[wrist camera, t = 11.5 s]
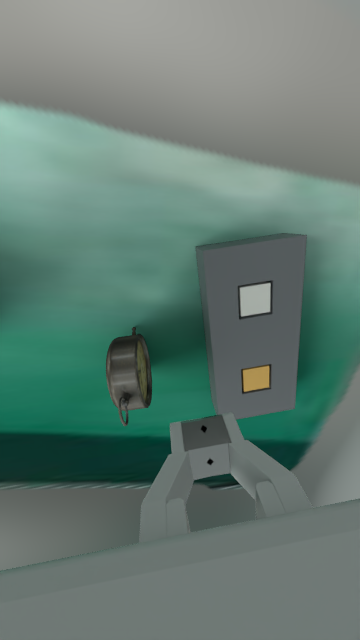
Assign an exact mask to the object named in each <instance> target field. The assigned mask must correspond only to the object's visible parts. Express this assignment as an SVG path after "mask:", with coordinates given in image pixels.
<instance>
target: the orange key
mask: <svg viewBox="0 0 360 640" xmlns="http://www.w3.org/2000/svg"><path fill="white" fill-rule="evenodd" d="M241 379H242V389H243V391H244V392H245V391H251V390H256V389H262V388H268V387H269V365H262V366H256V367H250V368H245V369H241Z"/></svg>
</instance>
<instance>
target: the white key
mask: <svg viewBox="0 0 360 640" xmlns="http://www.w3.org/2000/svg"><path fill="white" fill-rule="evenodd" d="M270 286H271V283H270V282H268V281H264V282H258V283H252V284H246V285H240V286H238V308H239V315H240V316H241V317H242V316H248V315H254V314H260V313H266V312H270Z"/></svg>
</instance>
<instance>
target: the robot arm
mask: <svg viewBox="0 0 360 640" xmlns="http://www.w3.org/2000/svg"><path fill="white" fill-rule="evenodd" d="M170 434H171V447H172V454H170V455H168V457H167V459H166V461H165V463H164V464H163V466H162V468H161V470H160V472H159V473H158V475H157V477H156V479H155V481H154V482H153V484H152V486H151V488H150V490H149V491H148V493H147V495H146V497H145V499H144V500H143V502H142V504H141V521H140V540H139V543H137V544H132V545H127V546H122V547H117V548H112V549H107V550H102V551H97V552H92V553H87V554H82V555H77V556H72V557H67V558H62V559H58V560H52V561H47V562H42V563H37V564H32V565H27V566H22V567H17V568H12V569H7V570H2V571H0V640H360V499H356V500H350V501H346V502H341V503H335V504H330V505H325V506H320V507H316V508H313V507H312V505H311V504H310V502H309V500H308V498H307V497H306V494H305V493H304V491H303V489H302V487H301V485H300V484H299V482H298V480H297V478H296V476H295V475H294V474H293V473H291V472H290V471H289V470H287V469H286V468H285V467H283V466H282V465H281V464H279V463H278V462H277V461H275V460H274V459H272V458H271V457H270V456H268V455H267V454H266V453H264V452H263V451H262V450H260V449H259V448H258V447H256V446H255V445H253V444H252V443H251V442H249V441H248V440H245V441H244V439H243V436H242V434H241V431H240V429H239V427H238V424H237V422H236V419H235V417H234V415H233V413H232V412H230V413H224V414H219V415H214V416H209V417H204V418H199V419H193V420H186V421H181V422H175V423H170ZM227 473H231V474H232V476H233V477H234V478H235V479H236V480H237V481H238V482H239V483H240V484H241V485H242V486H243V487H244V488H245V489H246V491H247V492H248V493H249V494H250V495H251V496H252V497H253V498H254V499H255V500H256V520H251V521H246V522H241V523H236V524H231V525H226V526H221V527H217V528H211V529H207V530H201V531H196V532H192V533H191V532H190V528H189V523H188V518H187V513H186V508H185V504H186V502H187V498H188V496H189V493H190V490H191V487H192V484H193V482H194V481H193V480H196V479H201V478H205V477H209V476H215V475H221V474H227Z"/></svg>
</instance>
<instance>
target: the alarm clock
mask: <svg viewBox="0 0 360 640" xmlns="http://www.w3.org/2000/svg"><path fill="white" fill-rule="evenodd" d="M132 330H133V332H132V336H124V337H118V338H116V339H114V340H113V341H112V343H111V344H110V346H109V349H108V353H107V359H106V377H107V385H108V389H109V393H110V396H111V399H112V401H113V403H114V404H115V406H116V407H117V408H118V409H119V415H120V419H121V422H122V424H123V425H124V426H126V425H127V424H128V410H134V409H141V408H148V407H149V405H150V403H151V398H152V376H151V366H150V359H149V353H148V349H147V345H146V342H145V340H144V338H143V336H142V335H140V334H138V335H136V332H135V330H136V328H135V327H133V328H132ZM121 410H123V411H126V423H125V422H124V420H123V417H122V412H121Z"/></svg>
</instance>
